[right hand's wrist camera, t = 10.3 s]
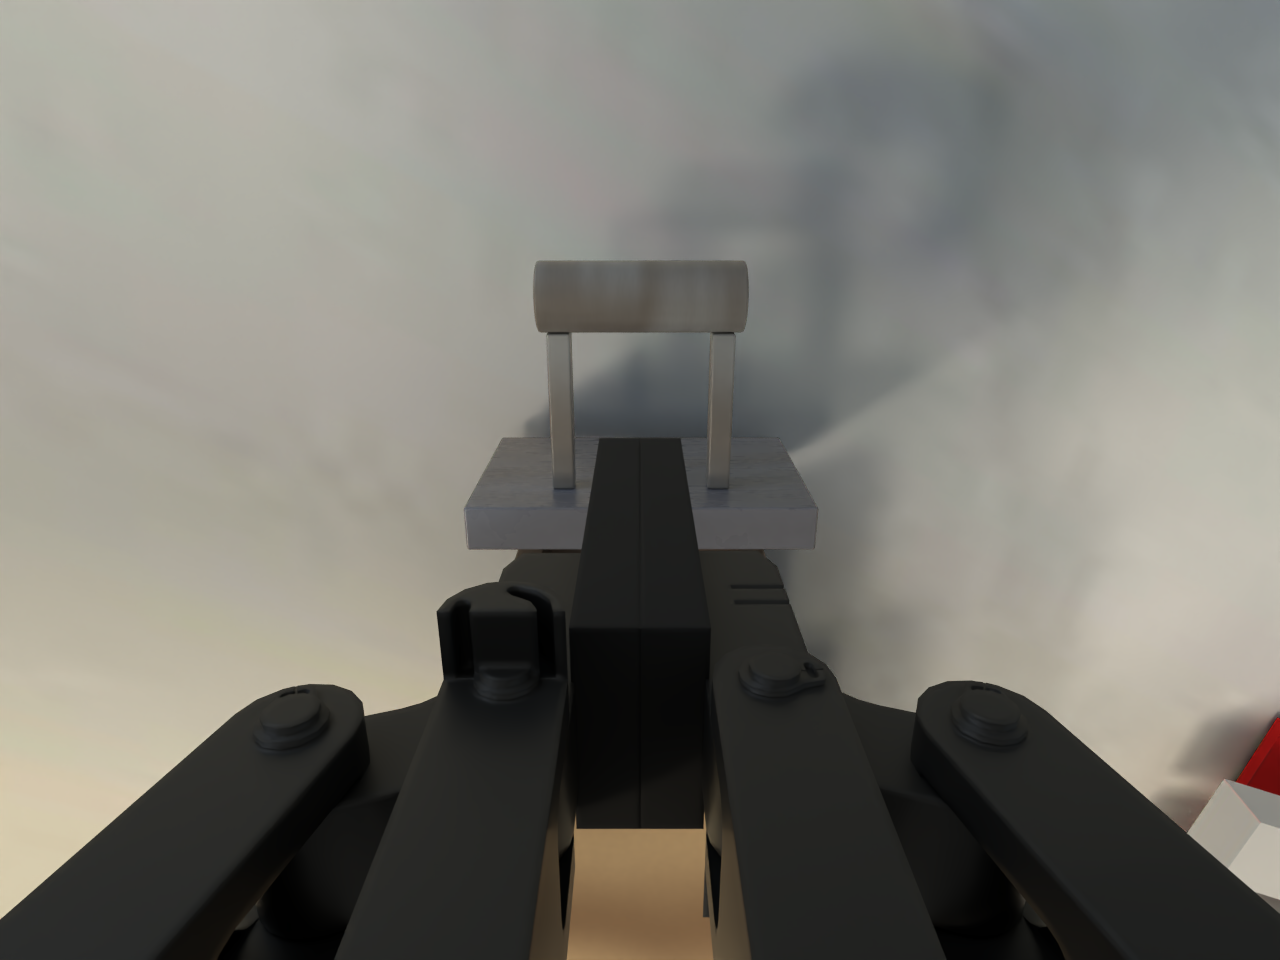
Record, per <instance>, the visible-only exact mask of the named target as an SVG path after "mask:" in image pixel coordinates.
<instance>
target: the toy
mask: <svg viewBox="0 0 1280 960" xmlns="http://www.w3.org/2000/svg"><path fill="white" fill-rule="evenodd" d="M1187 834H1189V835H1190V836H1191V837H1192V838H1193V839H1194V840H1195V841H1197V842H1198V843H1199V844H1200V845H1201V846H1202V847H1204V848H1205V849H1206V850H1207V851H1208V852H1209V853H1210V854H1212V855H1213V856H1214V857H1215V858H1216V859H1217V860H1218V861H1220V862H1221V863H1222V864H1223V865H1224V866H1225V867H1227V868H1228V869H1229V870H1230V871H1231V872H1232V873H1233V874H1235V875H1236V876H1237V877H1238V878H1239V879H1240V880H1242V881H1243V882H1244V883H1245V884H1246V885H1247V886H1248V887H1250V888H1251V889H1252V890H1253V891H1254V892H1255V893H1257V894H1258V895H1259V896H1260V897H1261V898H1262V899H1263V900H1265V901H1266V902H1267V903H1268V904H1269V905H1270V906H1272V907H1273V908H1274V909H1275V910H1276V911H1277V912H1278V913H1280V718H1278V717H1277V719H1276V720H1275V722H1274V723H1273V725H1272V726H1271V728H1270V730H1269V731H1268V733H1267V734H1266V736H1265V737H1264V739H1263V740H1262V742H1261V743H1260V745H1259V746H1258V748H1257V750H1256V751H1255V753H1254V754H1253V756H1252V757H1251V759H1250V760H1249V762H1248V763H1247V765H1246V767H1245V768H1244V770H1243V771H1242V773H1241V774H1240V776H1239V777H1238V779H1237V780H1236V782H1234V781H1231V780H1227V779H1224V780H1223V781H1222V783H1221V784H1220V786H1219V787H1218V788H1217V790H1216V791H1215V793H1214V794H1213V796H1212V797H1211V799H1210V800H1209V802H1208V803H1207V805H1206V806H1205V808H1204V809H1203V810H1202V812H1201V813H1200V815H1199V816H1198V818H1197V819H1196V821H1195V822H1194V824H1193V825H1192V827H1191V828H1190V830H1189V831H1188V832H1187Z"/></svg>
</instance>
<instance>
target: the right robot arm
mask: <svg viewBox="0 0 1280 960" xmlns="http://www.w3.org/2000/svg"><path fill="white" fill-rule="evenodd" d="M437 619H438V629H439V638H440V648H441V657H442V666H443V676H444V680H443V683H442V685H441V688H440V691H439V693H438V696H436V697H434V698H432V699H430V700H427V701H425V702H423V703H420V704H416V705H413V706H409V707H406V708H402V709H397V710H392V711H388V712H383V713H378V714H373V715H368V716H364V710H363V703H362V701H361V700H360V699H359V698H358V697H357V696H356V695H355V694H354V693H353V692H352V691H350V690H347V689H344V688H341V687H338V686H335V685H322V684H307V685H301V686H297V687H295V686H294V687H290V688H286V689H282V690H280V691H277V692H275V693H272V694H270V695H267V696H265V697H262V698H260V699H257V700H256V701H254V702H253V703H251V704H250V705H248V706H247V707H245V708H244V709H242V710H241V711H239V712H238V713H236V714H235V715H234V716H233V717H231V718H230V719H229V720H228V721H227V722H226V723H225V724H223V725H222V726H221V727H220V728H219V729H218V730H217V731H215V732H214V733H213V734H212V735H211V736H210V737H209V738H207V739H206V740H205V741H204V742H203V743H202V744H201V745H199V746H198V747H197V748H196V749H195V750H194V751H193V752H191V753H190V754H189V755H188V756H187V757H186V758H185V759H183V760H182V761H181V762H180V763H179V764H178V765H177V766H175V767H174V768H173V769H172V770H171V771H170V772H169V773H167V774H166V775H165V776H164V777H163V778H162V779H161V780H159V781H158V782H157V783H156V784H155V785H154V786H153V787H151V788H150V789H149V790H148V791H147V792H146V793H145V794H143V795H142V796H141V797H140V798H139V799H138V800H137V801H135V802H134V803H133V804H132V805H131V806H130V807H129V808H127V809H126V810H125V811H124V812H123V813H122V814H121V815H119V816H118V817H117V818H116V819H115V820H114V821H113V822H111V823H110V824H109V825H108V826H107V827H106V828H105V829H103V830H102V831H101V832H100V833H99V834H98V835H97V836H95V837H94V838H93V839H92V840H91V841H90V842H89V843H87V844H86V845H85V846H84V847H83V848H82V849H81V850H79V851H78V852H77V853H76V854H75V855H74V856H72V857H71V858H70V859H69V860H68V861H67V862H66V863H64V864H63V865H62V866H61V867H60V868H59V869H58V870H56V871H55V872H54V873H53V874H52V875H51V876H50V877H48V878H47V879H46V880H45V881H44V882H43V883H42V884H40V885H39V886H38V887H37V888H36V889H35V890H34V891H32V892H31V893H30V894H29V895H28V896H27V897H26V898H24V899H23V900H22V901H21V902H20V903H19V904H18V905H16V906H15V907H14V908H13V909H12V910H11V911H10V912H8V913H7V914H6V915H5V916H4V917H3V918H2V919H0V960H567V952H568V941H569V930H570V919H571V908H572V897H573V886H574V875H575V848H574V826H575V816H576V829H704V812H705V822H706V848H705V873H704V899H703V917H709V918H710V929H711V940H712V950H713V960H1280V913H1278V912H1277V911H1276V910H1275V909H1274V908H1273V907H1272V906H1270V905H1269V904H1268V903H1267V902H1266V901H1265V900H1263V899H1262V898H1261V897H1260V896H1259V895H1258V894H1257V893H1255V892H1254V891H1253V890H1252V889H1251V888H1250V887H1248V886H1247V885H1246V884H1245V883H1244V882H1243V881H1242V880H1240V879H1239V878H1238V877H1237V876H1236V875H1235V874H1233V873H1232V872H1231V871H1230V870H1229V869H1228V868H1227V867H1225V866H1224V865H1223V864H1222V863H1221V862H1220V861H1218V860H1217V859H1216V858H1215V857H1214V856H1213V855H1212V854H1210V853H1209V852H1208V851H1207V850H1206V849H1205V848H1204V847H1202V846H1201V845H1200V844H1199V843H1198V842H1197V841H1195V840H1194V839H1193V838H1192V837H1191V836H1190V835H1189V834H1187V833H1186V832H1185V831H1184V830H1183V829H1182V828H1180V827H1179V826H1178V825H1177V824H1176V823H1175V822H1174V821H1172V820H1171V819H1170V818H1169V817H1168V816H1167V815H1165V814H1164V813H1163V812H1162V811H1161V810H1160V809H1159V808H1157V807H1156V806H1155V805H1154V804H1153V803H1152V802H1150V801H1149V800H1148V799H1147V798H1146V797H1145V796H1144V795H1142V794H1141V793H1140V792H1139V791H1138V790H1137V789H1135V788H1134V787H1133V786H1132V785H1131V784H1130V783H1129V782H1127V781H1126V780H1125V779H1124V778H1123V777H1122V776H1120V775H1119V774H1118V773H1117V772H1116V771H1115V770H1114V769H1112V768H1111V767H1110V766H1109V765H1108V764H1107V763H1105V762H1104V761H1103V760H1102V759H1101V758H1100V757H1099V756H1097V755H1096V754H1095V753H1094V752H1093V751H1092V750H1091V749H1089V748H1088V747H1087V746H1086V745H1085V744H1084V743H1082V742H1081V741H1080V740H1079V739H1078V738H1077V737H1076V736H1074V735H1073V734H1072V733H1071V732H1070V731H1069V730H1067V729H1066V728H1065V727H1064V726H1063V725H1062V724H1061V723H1059V722H1058V721H1057V720H1056V719H1055V718H1054V717H1052V716H1051V715H1050V714H1049V713H1048V712H1047V711H1046V710H1044V709H1043V708H1041V707H1040V706H1038V705H1037V704H1035V703H1034V702H1032V701H1031V700H1029V699H1028V698H1026V697H1025V696H1022V695H1020V694H1017V693H1015V692H1012V691H1010V690H1007V689H1005V688H1002V687H1000V686H997V685H993V684H989V683H983V682H976V681H947V682H944V683H941V684H938V685H935V686H932V687H929V688H928V689H927V690H926V691H925V692H924V693H923V694H922V695H921V696H920V697H919V698H918V703H917V710H916V713H914V712H909V711H904V710H899V709H894V708H889V707H884V706H880V705H876V704H872V703H869V702H865V701H861V700H858V699H856V698H854V697H851V696H849V695H847V694H845V693H842V692H841V689H840V687H839V684H838V682H837V679H836V677H835V676H834V675H833V673H832V672H831V671H830V669H829V668H828V666H827V665H826V664H824V663H823V662H821V661H820V660H818V659H817V658H815V657H814V656H812V655H811V654H809V653H808V652H807V649H806V646H805V644H804V641H803V638H802V635H801V632H800V630H799V627H798V624H797V621H796V619H795V616H794V613H793V610H792V607H791V605H790V604H789V599H788V596H787V593H786V591H785V589H784V588H783V582H782V579H781V577H780V574H779V571H778V568H777V566H776V565H774V564H773V563H772V562H771V561H769V560H768V559H767V558H766V557H765V556H763V555H762V554H761V553H760V552H758V551H699V549H698V543H697V537H696V531H695V524H694V518H693V512H692V506H691V500H690V493H689V487H688V481H687V475H686V468H685V462H684V456H683V450H682V443H681V438H599V443H598V450H597V456H596V462H595V468H594V475H593V481H592V487H591V493H590V500H589V506H588V512H587V518H586V524H585V531H584V537H583V543H582V549H581V553H522V554H521V555H520V556H519V557H517V558H516V559H515V560H514V561H513V562H511V563H510V564H509V565H508V566H506V567H505V568H504V569H503V571H502V574H501V577H500V580H499V582H493V583H486V584H482V585H479V586H475V587H472V588H468V589H465V590H463V591H461V592H459V593H458V594H456V595H454V596H452V597H450V598H449V599H447V600H446V601H445V602H444V604H443V605H442V606H441V607H440V608H439V609H438V611H437Z"/></svg>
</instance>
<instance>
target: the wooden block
mask: <svg viewBox="0 0 1280 960" xmlns="http://www.w3.org/2000/svg"><path fill="white" fill-rule="evenodd" d="M574 848H575V875H574V886H573V897H572V908H571V919H570V930H569V941H568V952H567V960H713V950H712V940H711V929H710V918H709V917H703V899H704V873H705V848H706V822H705V812H704V829H576V816H575V826H574Z"/></svg>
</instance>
